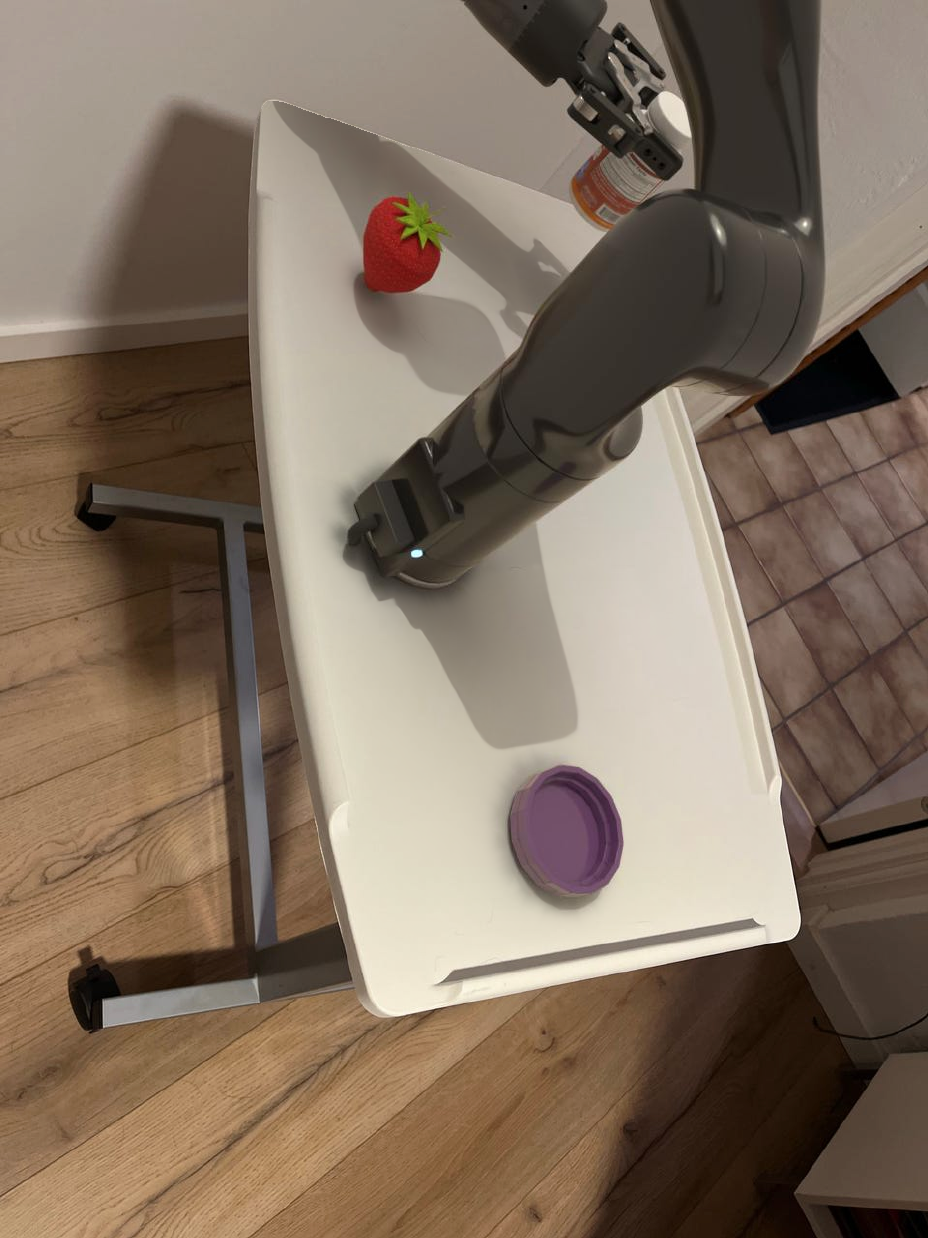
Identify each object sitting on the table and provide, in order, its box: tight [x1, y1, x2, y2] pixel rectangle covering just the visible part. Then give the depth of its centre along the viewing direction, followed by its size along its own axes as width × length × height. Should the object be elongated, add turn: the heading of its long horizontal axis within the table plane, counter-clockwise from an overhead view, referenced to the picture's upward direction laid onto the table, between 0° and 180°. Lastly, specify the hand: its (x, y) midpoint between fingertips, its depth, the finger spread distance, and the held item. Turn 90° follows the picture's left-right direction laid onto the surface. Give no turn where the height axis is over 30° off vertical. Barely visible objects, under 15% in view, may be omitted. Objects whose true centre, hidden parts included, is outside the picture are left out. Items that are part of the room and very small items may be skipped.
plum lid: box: [509, 764, 625, 898], centre depth 65 cm, size 9×9×2 cm
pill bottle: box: [568, 91, 692, 233], centre depth 79 cm, size 6×6×11 cm
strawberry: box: [362, 191, 454, 294], centre depth 71 cm, size 6×8×10 cm
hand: (681, 152), depth 77 cm, fingers closed on pill bottle, 6 cm apart
